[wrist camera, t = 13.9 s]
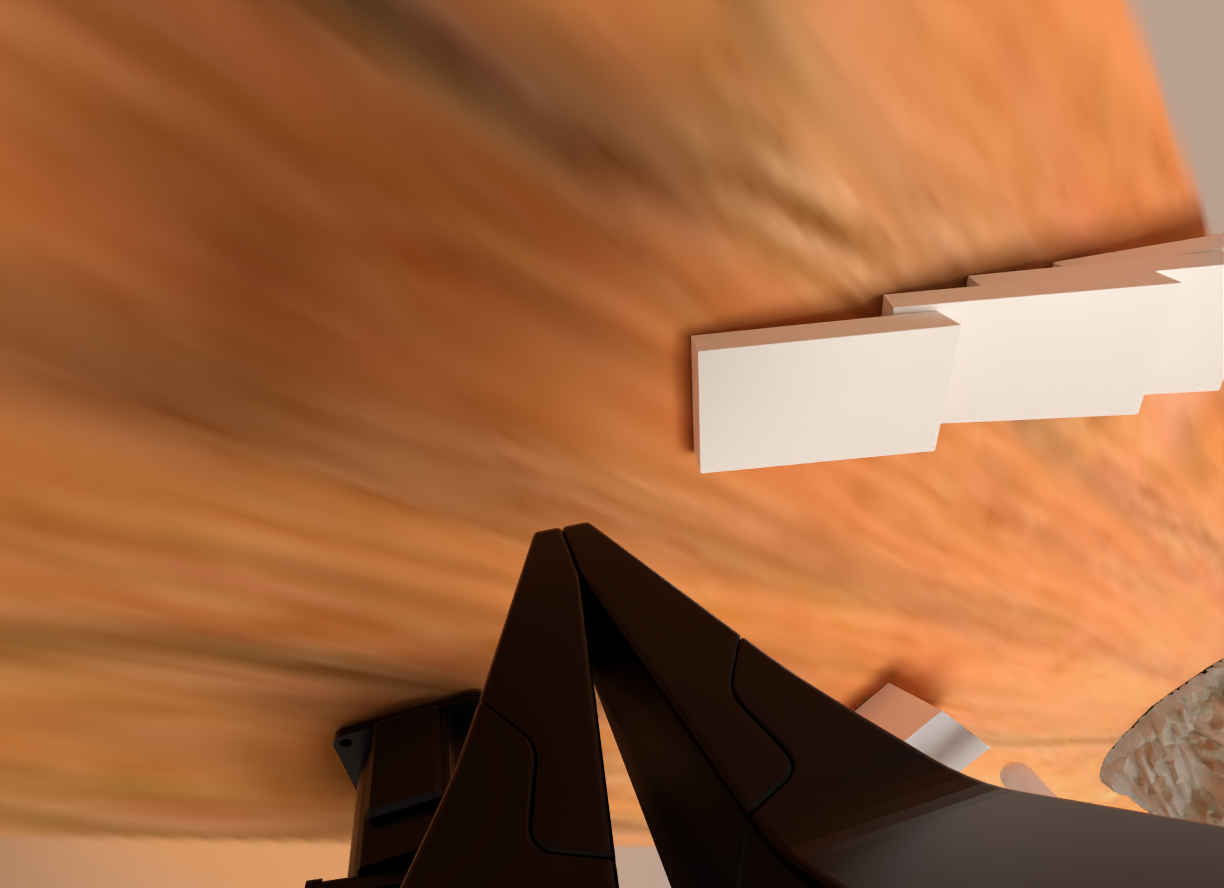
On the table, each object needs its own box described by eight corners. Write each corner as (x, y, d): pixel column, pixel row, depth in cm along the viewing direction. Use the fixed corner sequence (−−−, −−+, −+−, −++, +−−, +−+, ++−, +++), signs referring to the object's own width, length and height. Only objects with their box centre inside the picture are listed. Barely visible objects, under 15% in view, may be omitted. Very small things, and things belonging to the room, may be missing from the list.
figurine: (958, 686, 38) (1221, 965, 26) (849, 775, 40) (1046, 1079, 27) (910, 646, 35) (1189, 947, 22) (793, 746, 36) (989, 1080, 24)
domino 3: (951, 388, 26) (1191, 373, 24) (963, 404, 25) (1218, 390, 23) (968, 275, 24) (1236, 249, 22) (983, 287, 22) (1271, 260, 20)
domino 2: (873, 408, 25) (1113, 395, 24) (882, 426, 24) (1137, 414, 22) (883, 294, 23) (1152, 270, 21) (893, 307, 22) (1182, 282, 20)
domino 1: (693, 452, 24) (914, 430, 24) (700, 473, 23) (934, 450, 23) (690, 335, 22) (937, 310, 21) (698, 351, 20) (961, 325, 20)
